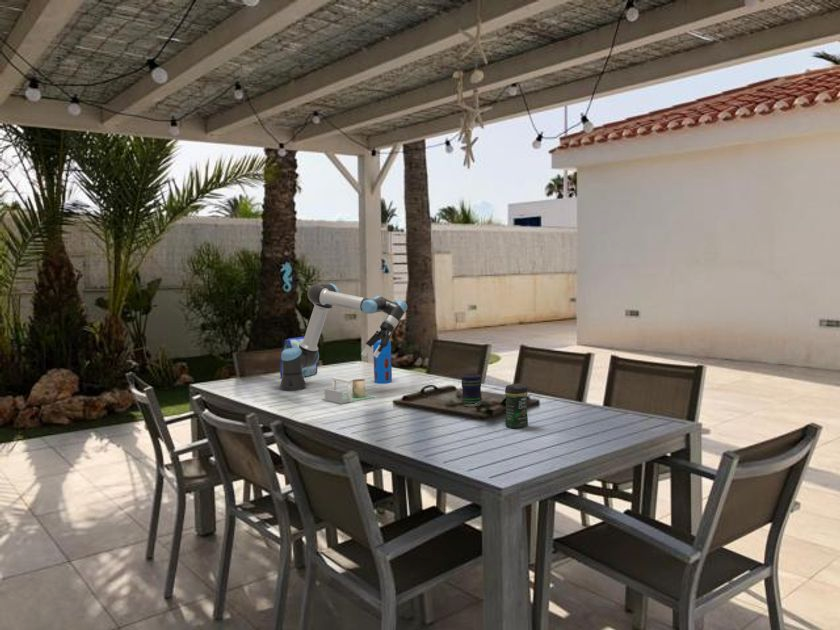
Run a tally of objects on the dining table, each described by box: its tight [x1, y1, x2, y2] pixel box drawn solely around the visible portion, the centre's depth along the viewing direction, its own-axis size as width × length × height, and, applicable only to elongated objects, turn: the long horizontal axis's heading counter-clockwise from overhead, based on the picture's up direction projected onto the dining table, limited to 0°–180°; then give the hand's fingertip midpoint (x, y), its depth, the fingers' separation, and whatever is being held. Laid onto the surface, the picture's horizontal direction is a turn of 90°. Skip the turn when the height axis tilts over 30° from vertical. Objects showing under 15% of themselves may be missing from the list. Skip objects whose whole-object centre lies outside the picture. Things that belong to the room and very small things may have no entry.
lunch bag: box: [279, 335, 318, 379], centre depth 439 cm, size 22×17×26 cm
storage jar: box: [461, 373, 483, 404], centre depth 336 cm, size 10×10×15 cm
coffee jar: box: [504, 382, 529, 429], centre depth 290 cm, size 10×8×19 cm
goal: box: [324, 376, 353, 405], centre depth 356 cm, size 16×7×11 cm, turn 41°
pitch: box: [321, 392, 375, 405], centre depth 363 cm, size 18×22×1 cm
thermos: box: [372, 340, 393, 385], centre depth 410 cm, size 11×11×25 cm
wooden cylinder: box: [351, 378, 367, 398], centre depth 365 cm, size 7×7×9 cm
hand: (368, 356), depth 368 cm, fingers open, 13 cm apart
